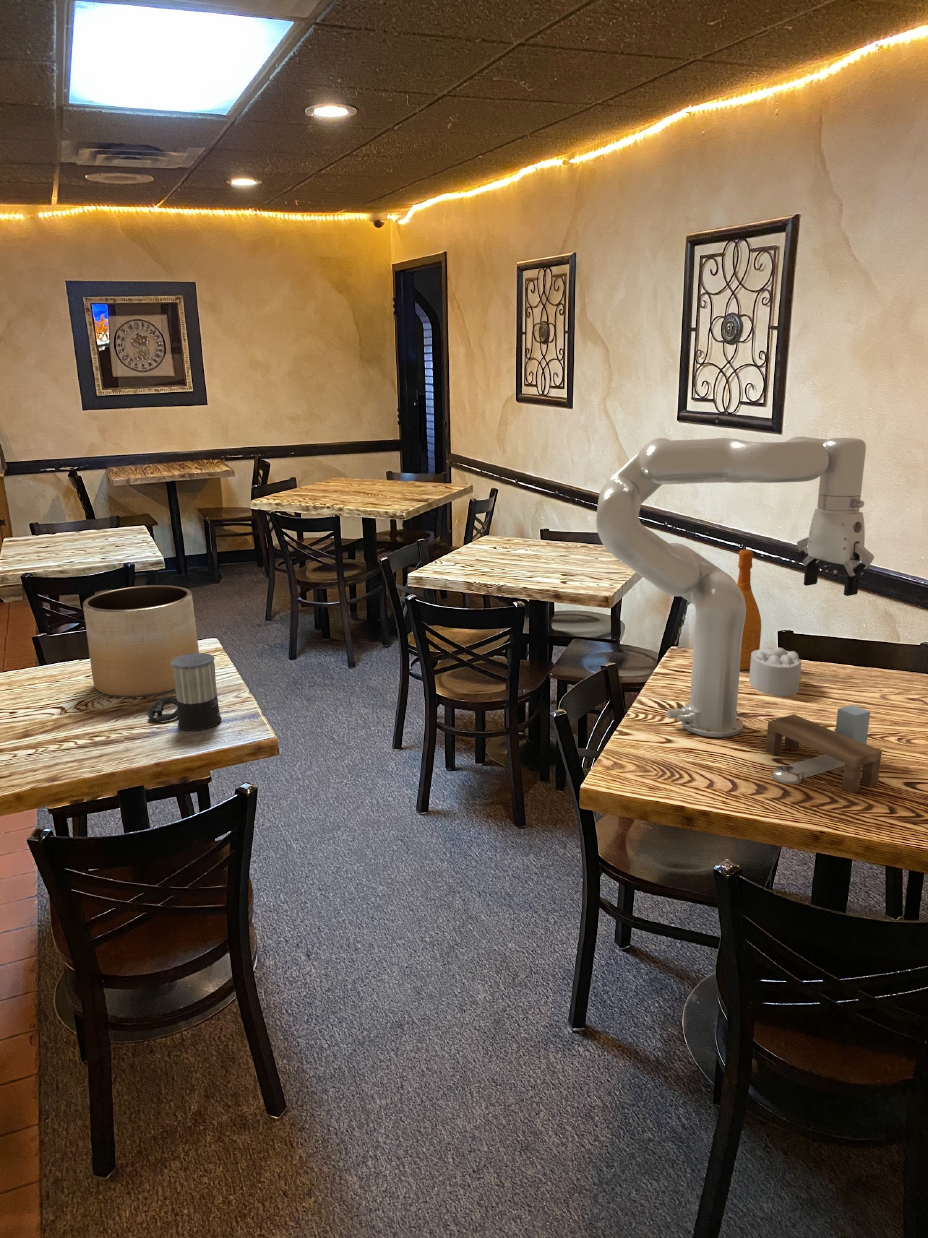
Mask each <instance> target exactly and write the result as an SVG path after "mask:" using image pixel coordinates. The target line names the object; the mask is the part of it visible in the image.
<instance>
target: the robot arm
mask: <svg viewBox="0 0 928 1238" xmlns="http://www.w3.org/2000/svg"><path fill="white" fill-rule="evenodd" d="M866 450H867V445H866V442H865V441H864V440H863V439H861V438H855V437H854V438H853V437H833V438H829V439H827V438H817V437H816V438H815V437H807V436H795V437H791V438H790V439H787V440H786V441H774V442H771V441H770V442H765V441H763V442H762V441H750V440H749V441H748V440H743V439H738V438H731V437H730V438H729V437H728V438H727V437H717V438H704V439H703V438H700V439H675V440H673V439H671V440H670V439H668V438H662V437H660V438H655V439H652V440H650V441H648V442H647V443H646V444H645V445H644V446H643V447H642V448H641V449H640V450H639V451H638V452H637V453H636V454H635V455H633V457H632V458H630V460H629V461H628V462H626V463H625V464H624V465H623V466H622V467H620V469H619V470H618V471H616V472H615V474H613V475H612V477H610V478H609V479H608V480H607V481H606V482H605V483H604V485H603V486H602V488H601V490H600V492H599V495H598V500H597V508H596V530H597V534H598V537H599V539H600V541H601V544H603V547H604V548H605V549H606V550H607V551H608V552H609V553H610V554H611V555H612V556H614V557H615V558H616V559H617V560H619V561H620V562H622V563H623V564H624V565H625V566H627V567H628V568H630V569H631V570H632V571H634V572H635V573H636V574H638V575H639V576H640V577H642V578H644V579H645V580H646V581H648V583H650V584H652V585H654V586H655V587H656V588H657V589H659V590H660V591H661V592H663V593H664V594H666V595H669V596H672V597H682V598H683V599H684V600H686V601H688V602H689V603H691V604H692V605H693V606H694V607H695V620H694V621H695V623H694V631H693V641H692V642H693V643H692V644H693V645H692V661H691V663H692V664H691V677H690V679H691V682H690V696H689V699H690V700H689V702H685V706H681V708H679V709H678V708H675V709H673V708H671V709H667V710H666V716H667V719H671V720H672V719H676V720H677V722H678V723H679V722H681V725H682V727H683V728H684V729H685V730H686V731H688V732H690V733H692V734H696V735H699V736H702V737H703V736H704V737H709V738H729V737H734V736H737V735H739V734H740V733H742V731H743V730H744V721H742V719H741V718H740V717H738V716H737V714H738V713H737V712H738V698H739V697H738V696H739V685H740V683H739V682H740V671H741V670H740V659H741V658H740V656H741V644H742V635H743V628H744V622H745V616H746V604H745V599H744V596H743V594H742V592H741V590H740V588H739V587H738V585H737V582H736V581H735V580H734V578H733V577H732V576H731V575H730V574H729V573H727V572H726V571H725V570H723V569H721V568H720V567H718V566H717V565H715V564H714V563H713V562H711V561H709V560H708V559H706V558H705V557H704V556H703V555H701V554H699V553H698V552H697V551H696V550H693V549H692V548H690V546H689V547H688V546H687V545H684V544H683V543H680V542H679V543H678V542H668V541H666V540H664V539H663V538H662V537H660V536H659V535H657V533H655V532H654V531H653V530H650V529H649V528H647V527H646V526H644V524H642V522H641V521H640V518H639V516H640V515H639V514H640V510H641V506H642V504H643V503H644V502H645V501H646V500H648V498H649V497H651V496H652V495H653V494H654V493H655V492H656V491H657V490H659V488H660V487H661V486H662V485H681V484H682V485H684V484H685V485H687V484H711V483H712V484H713V483H715V484H716V483H729V484H743V483H747V484H748V483H758V484H759V483H760V484H762V483H763V484H765V483H767V484H769V483H770V484H771V483H773V484H776V483H777V484H778V483H779V484H780V483H782V484H783V483H799V482H801V483H803V482H811V481H814V480H816V479H818V478H819V485H818V486H819V487H818V497H817V506H816V508H815V509H814V512H813V515H812V519H811V522H810V525H809V532H808V536H807V537H805V538H803V539H800V540H798V541H797V542H796V546H797V550H798V552H799V553H798V555H799V556H800V559H801V560H802V565H803V566H804V575H803V578H804V579H803V586H805V587H807V586H808V587H809V586H814V585H817V584H818V577H819V564H817V563H818V562H819V561H823V562H829V563H833V564H838V565H843V566H844V568H845V570H846V572H847V573H848V574H847V575H845V577H844V578H845V579H844V587H843V595H844V596H845V597H850V596H854V595H858V591H859V588H860V578H861V575H863V574H864V573H865V571H867V570H868V569H869V568H870V566H871V564H872V562H873V561H874V559H875V555H874V554H873V553H872V552H871V551H869V550H868V549H867V548H866V547H865V541H866V539H865V538H866V537H865V536H866V535H865V533H866V532H865V531H866V530H865V527H866V526H865V519H864V512H862V511H860V509H861V508H863V507H864V506H865V502H864V500H862V499H861V497H862V488H863V479H864V470H865V461H866V454H867V453H866Z"/></svg>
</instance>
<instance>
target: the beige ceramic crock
mask: <svg viewBox="0 0 928 1238" xmlns="http://www.w3.org/2000/svg"><path fill="white" fill-rule="evenodd" d="M82 608H83V615H84V621H85V622H84V623H85V629H86V638H87V644H88V645H87V646H88V653H89V654H88V655H89V662H90V669H91V676H92V682H93V686H94V688H95V689H96V690H97V691H99V692H100V693H102V694H104V695H108V696H110V697H114V698H121V697H123V699H136V698H138V697H141V698H150V697H157V696H161V694H162V695H165V693H166V694H170V693H172V692H176V689H175V681H174V673H173V666H172V665H171V661H172V660H173V659H175V658H177V657H179V656H182V655H186V654H193V653H200V650H199V645H198V644H199V641H198V640H199V639H198V636H197V635H198V634H197V624H196V619H195V618H196V617H195V611H194V602H193V593H192V591H191V590H189V589H188V588H186V587H181V586H174V585H139V586H131V587H130V586H129V587H123V588H118V589H113V590H107V591H104V592H101V593H98V594H95V595H92V596H89V597H88V598H87V599H85V600H84V601H83V602H82ZM149 696H150V697H149ZM138 699H139V698H138Z"/></svg>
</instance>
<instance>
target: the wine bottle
mask: <svg viewBox="0 0 928 1238" xmlns="http://www.w3.org/2000/svg"><path fill="white" fill-rule="evenodd" d="M753 557H754V553H753V551H752V550H751V549H748V548H746V549H741V550H739V552H738V563H737V567H738V569H739V572H738V579H737V582H736V584H737V585H738V587H739V588H740V590H741V592H742V594H743V596H744V599H745V604H746V616H745V622H744V628H743V635H742V644H741V656H740V658H741V659H740V671H748V670H749V671H750V663H751V653H752V652H753V651H755V650H759V649H761V647H760V646H761V636H762V619H761V618H762V617H761V614H760V610H759V605H758V604H757V601H756V598H755V596H754V594H753V590H752V584H751V575H752V572H751V569H752V568H753Z"/></svg>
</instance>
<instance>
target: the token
mask: <svg viewBox="0 0 928 1238" xmlns="http://www.w3.org/2000/svg"><path fill="white" fill-rule="evenodd" d="M772 772H773V773H772V778H773V779H774V780H775V781H776V782H779V783H781V784H787V785H797V784H800V783H801V782H802V779H803V777H802V772H801V771H800V770H799V769H797V768H794V767H790V765H779V766H775V767H774V768H773V771H772Z"/></svg>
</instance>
